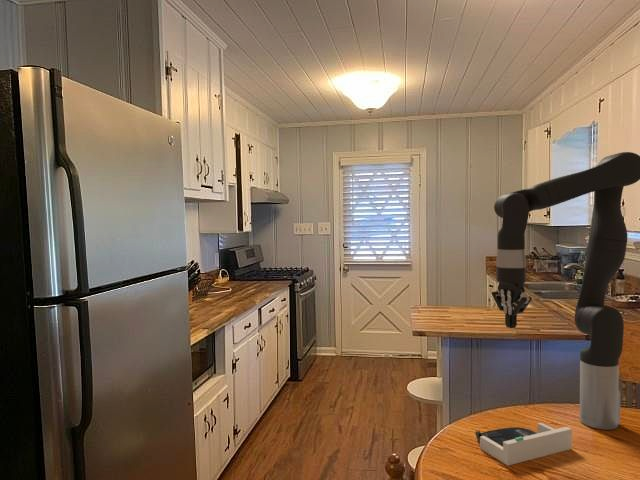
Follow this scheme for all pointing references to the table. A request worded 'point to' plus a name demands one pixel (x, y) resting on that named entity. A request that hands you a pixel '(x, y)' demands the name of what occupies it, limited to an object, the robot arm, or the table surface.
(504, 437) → the electronic device
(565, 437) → the charging dock
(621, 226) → the robot arm
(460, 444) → the table surface
